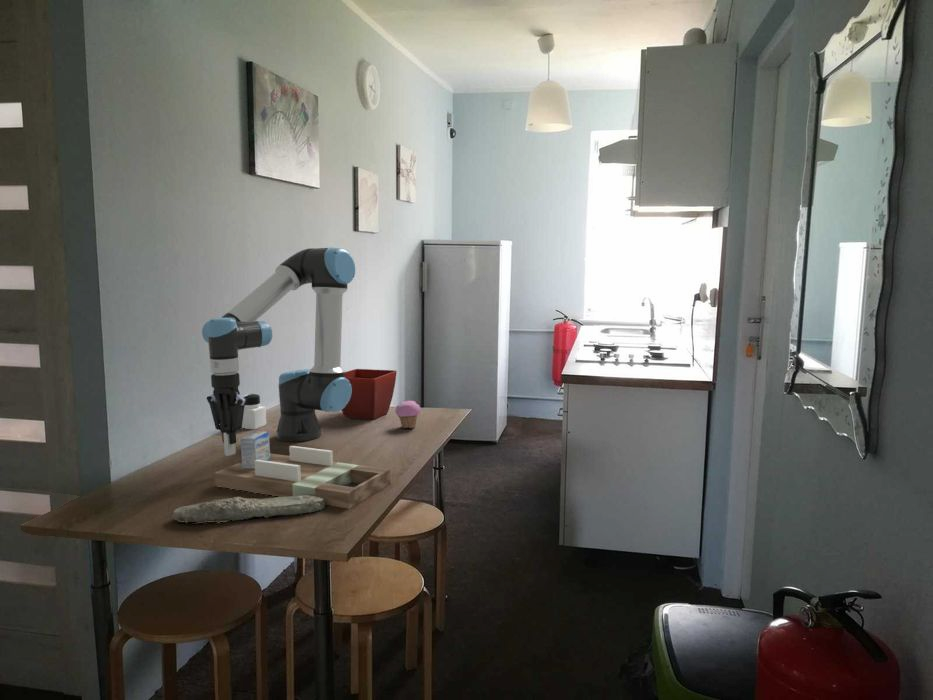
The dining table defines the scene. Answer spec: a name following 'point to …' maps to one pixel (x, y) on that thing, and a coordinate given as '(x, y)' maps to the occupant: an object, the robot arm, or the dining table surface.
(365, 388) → the plant pot
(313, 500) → the elongated rock
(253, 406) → the medicine bottle
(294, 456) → the channel walls
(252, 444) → the medicine box
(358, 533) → the dining table surface
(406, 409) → the cupcake
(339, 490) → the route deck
